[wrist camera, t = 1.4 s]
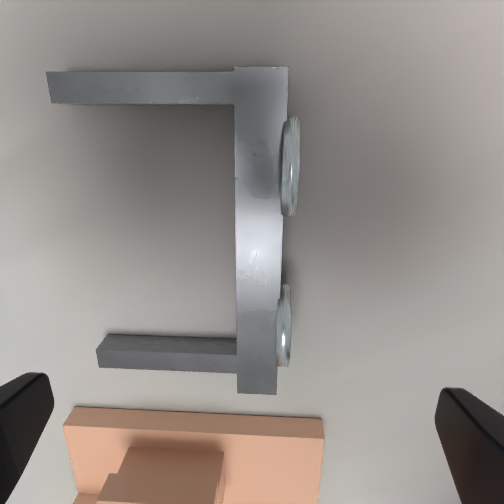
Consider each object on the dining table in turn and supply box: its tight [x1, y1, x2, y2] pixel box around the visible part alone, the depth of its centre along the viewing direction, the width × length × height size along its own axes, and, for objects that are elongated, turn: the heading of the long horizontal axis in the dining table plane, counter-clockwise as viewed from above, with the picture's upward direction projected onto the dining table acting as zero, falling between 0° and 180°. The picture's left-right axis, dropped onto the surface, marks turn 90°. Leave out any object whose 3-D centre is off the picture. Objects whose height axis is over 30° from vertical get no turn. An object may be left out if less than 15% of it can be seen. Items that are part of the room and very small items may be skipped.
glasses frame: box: [46, 66, 301, 395], centre depth 17 cm, size 10×15×4 cm
